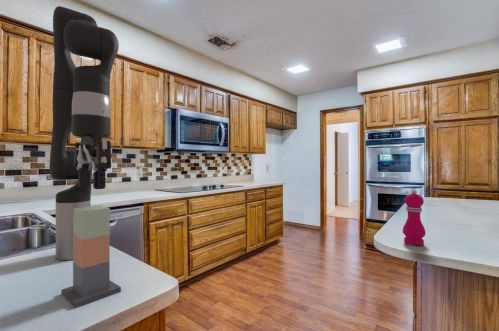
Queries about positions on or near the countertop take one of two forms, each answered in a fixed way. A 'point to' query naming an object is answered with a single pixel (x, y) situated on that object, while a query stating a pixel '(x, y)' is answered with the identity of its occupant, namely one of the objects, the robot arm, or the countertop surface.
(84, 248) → the brick terracotta
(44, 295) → the countertop surface
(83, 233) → the brick sage
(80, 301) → the tower base
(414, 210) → the pepper mill
